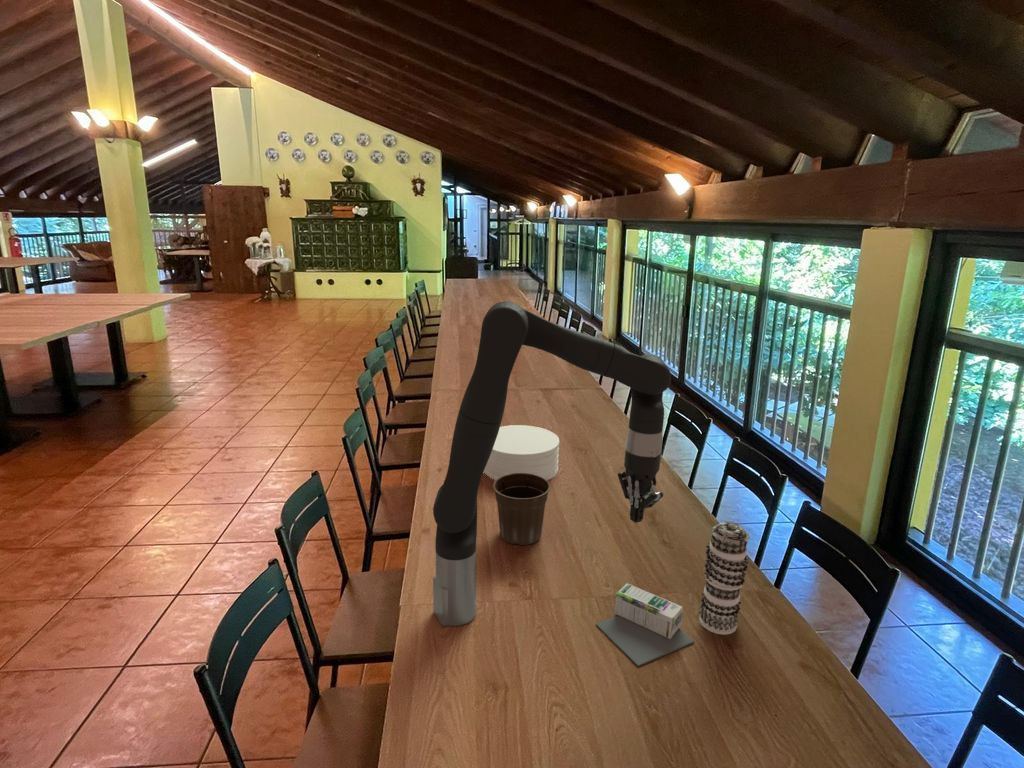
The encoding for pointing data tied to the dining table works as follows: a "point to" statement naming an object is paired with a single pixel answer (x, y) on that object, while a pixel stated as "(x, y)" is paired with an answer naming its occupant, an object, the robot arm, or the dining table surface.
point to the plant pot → (521, 506)
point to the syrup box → (648, 610)
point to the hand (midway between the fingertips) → (636, 520)
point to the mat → (641, 640)
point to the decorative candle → (724, 578)
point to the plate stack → (524, 452)
